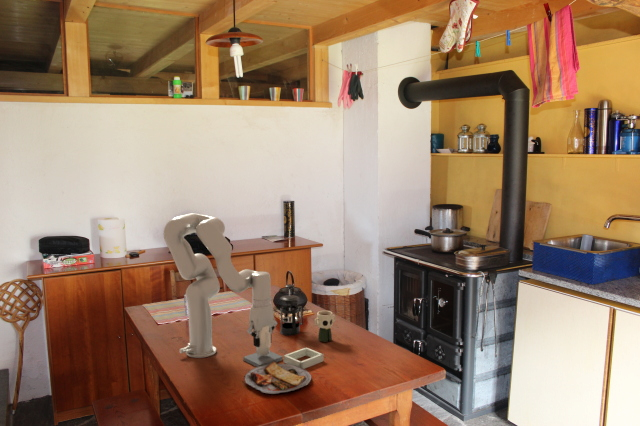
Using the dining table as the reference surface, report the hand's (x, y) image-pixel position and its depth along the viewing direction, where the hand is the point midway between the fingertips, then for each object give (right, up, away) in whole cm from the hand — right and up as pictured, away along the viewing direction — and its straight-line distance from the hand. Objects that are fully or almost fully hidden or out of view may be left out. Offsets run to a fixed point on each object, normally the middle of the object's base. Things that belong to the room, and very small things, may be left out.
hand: (262, 343), depth 228 cm
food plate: (+8, -10, -19) cm, 23 cm away
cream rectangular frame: (+17, -7, -1) cm, 18 cm away
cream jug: (0, -4, +1) cm, 4 cm away
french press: (+10, -3, +34) cm, 35 cm away
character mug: (+26, -4, +23) cm, 35 cm away
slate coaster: (0, -7, +1) cm, 7 cm away
